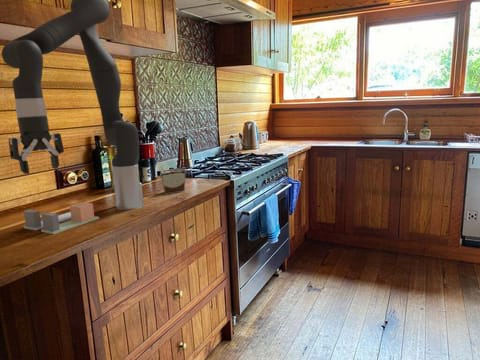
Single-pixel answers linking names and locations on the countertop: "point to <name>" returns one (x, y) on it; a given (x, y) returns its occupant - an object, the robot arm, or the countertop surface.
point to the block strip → (69, 225)
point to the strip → (61, 218)
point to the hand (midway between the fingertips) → (41, 170)
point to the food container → (173, 180)
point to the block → (82, 212)
